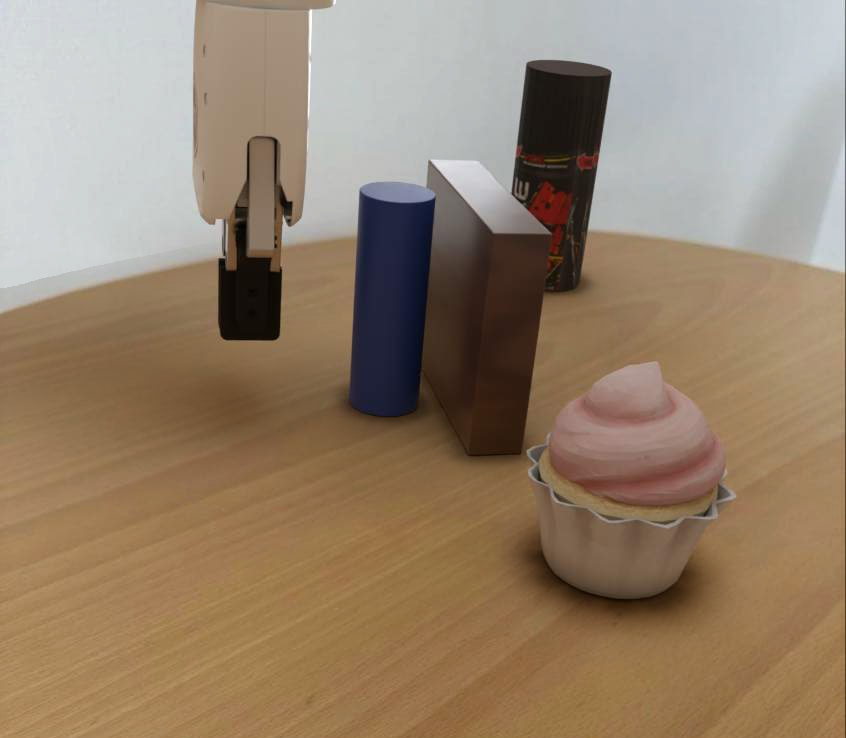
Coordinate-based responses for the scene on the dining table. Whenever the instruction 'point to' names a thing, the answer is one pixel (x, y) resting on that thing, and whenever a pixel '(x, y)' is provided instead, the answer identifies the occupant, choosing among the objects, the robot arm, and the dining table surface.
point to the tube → (390, 296)
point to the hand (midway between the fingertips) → (248, 334)
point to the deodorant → (561, 157)
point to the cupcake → (627, 485)
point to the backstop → (483, 305)
